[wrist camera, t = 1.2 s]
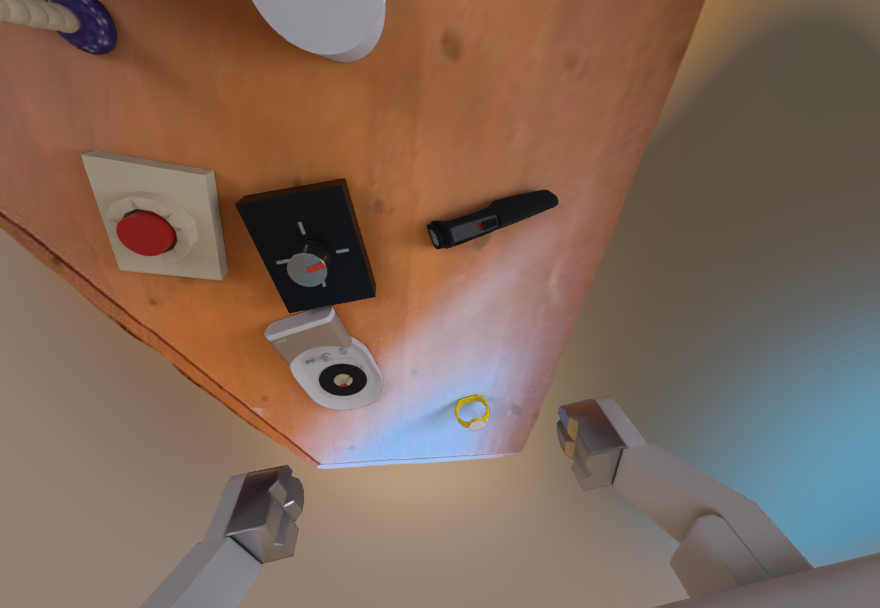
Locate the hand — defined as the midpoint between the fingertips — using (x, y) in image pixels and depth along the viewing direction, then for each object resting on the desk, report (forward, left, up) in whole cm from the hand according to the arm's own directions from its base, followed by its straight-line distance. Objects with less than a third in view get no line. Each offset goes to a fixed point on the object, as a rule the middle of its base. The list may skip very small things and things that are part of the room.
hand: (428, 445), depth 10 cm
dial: (+6, -11, -30) cm, 33 cm away
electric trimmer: (+6, +10, -33) cm, 35 cm away
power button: (0, -25, -30) cm, 39 cm away
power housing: (0, -25, -33) cm, 41 cm away
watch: (+40, +5, -33) cm, 52 cm away
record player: (+25, -15, -33) cm, 44 cm away
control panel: (+6, -11, -33) cm, 35 cm away
